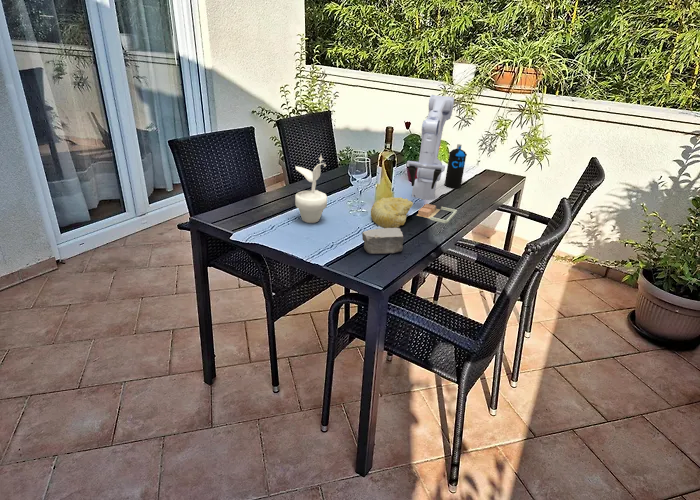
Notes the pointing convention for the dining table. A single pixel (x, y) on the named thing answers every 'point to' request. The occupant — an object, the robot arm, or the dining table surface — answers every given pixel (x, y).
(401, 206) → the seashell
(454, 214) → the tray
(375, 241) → the decorative stone
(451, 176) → the aerosol can
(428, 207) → the tile
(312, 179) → the potted plant
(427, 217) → the board
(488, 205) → the dining table surface
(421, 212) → the tile
